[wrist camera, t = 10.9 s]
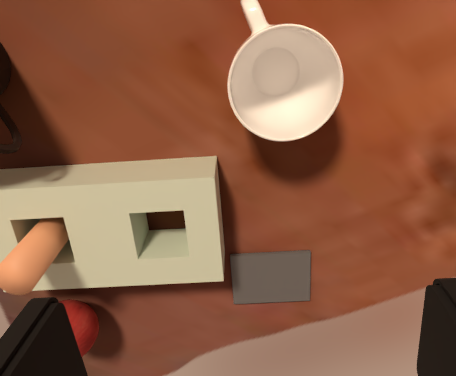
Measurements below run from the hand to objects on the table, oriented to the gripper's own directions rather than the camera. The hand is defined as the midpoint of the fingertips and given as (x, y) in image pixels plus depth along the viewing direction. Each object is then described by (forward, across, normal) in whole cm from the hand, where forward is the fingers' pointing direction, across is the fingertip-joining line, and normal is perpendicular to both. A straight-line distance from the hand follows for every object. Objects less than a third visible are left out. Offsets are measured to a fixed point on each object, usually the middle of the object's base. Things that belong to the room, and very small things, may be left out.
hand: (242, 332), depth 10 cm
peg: (+25, +18, +8) cm, 32 cm away
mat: (+26, -1, +18) cm, 31 cm away
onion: (+26, +20, +19) cm, 38 cm away
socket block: (+25, +13, +9) cm, 30 cm away
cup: (+26, -2, -4) cm, 27 cm away
